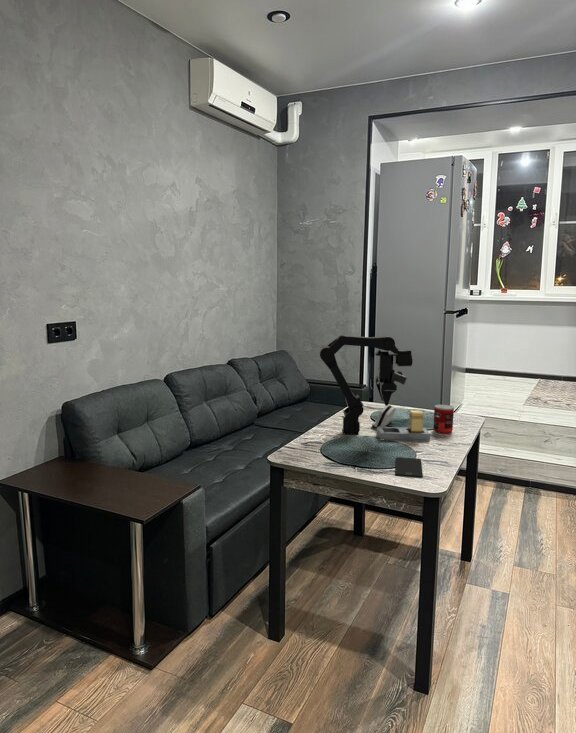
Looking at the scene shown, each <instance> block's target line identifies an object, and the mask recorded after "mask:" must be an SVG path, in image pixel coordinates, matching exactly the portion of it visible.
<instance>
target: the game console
mask: <svg viewBox="0 0 576 733" xmlns="http://www.w3.org/2000/svg"><path fill="white" fill-rule="evenodd" d="M396 410H397V408H396V407H395V406H392V405H391V404H388V406H385V405H384V407H383V408H382V409H381V410H380V412H379V414H378V416H377V418H376V420H375V422H373V423H372V424H371V426H370V429H373V427H375V428H377V427H387V425H388V424H389V423H390V422H391V421H392V420H393V419H394V418H393V417H394V414H395V412H396ZM391 419H392V420H391ZM390 420H391V421H390ZM389 421H390V422H389Z"/></svg>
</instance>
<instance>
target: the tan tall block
mask: <svg viewBox="0 0 576 733" xmlns="http://www.w3.org/2000/svg"><path fill="white" fill-rule="evenodd" d="M423 426H424V412H423V411H422V410H419V409H418V410H412V409H411V410H409V421H408V428H409V433H422V430H423V428H424V427H423Z"/></svg>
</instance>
